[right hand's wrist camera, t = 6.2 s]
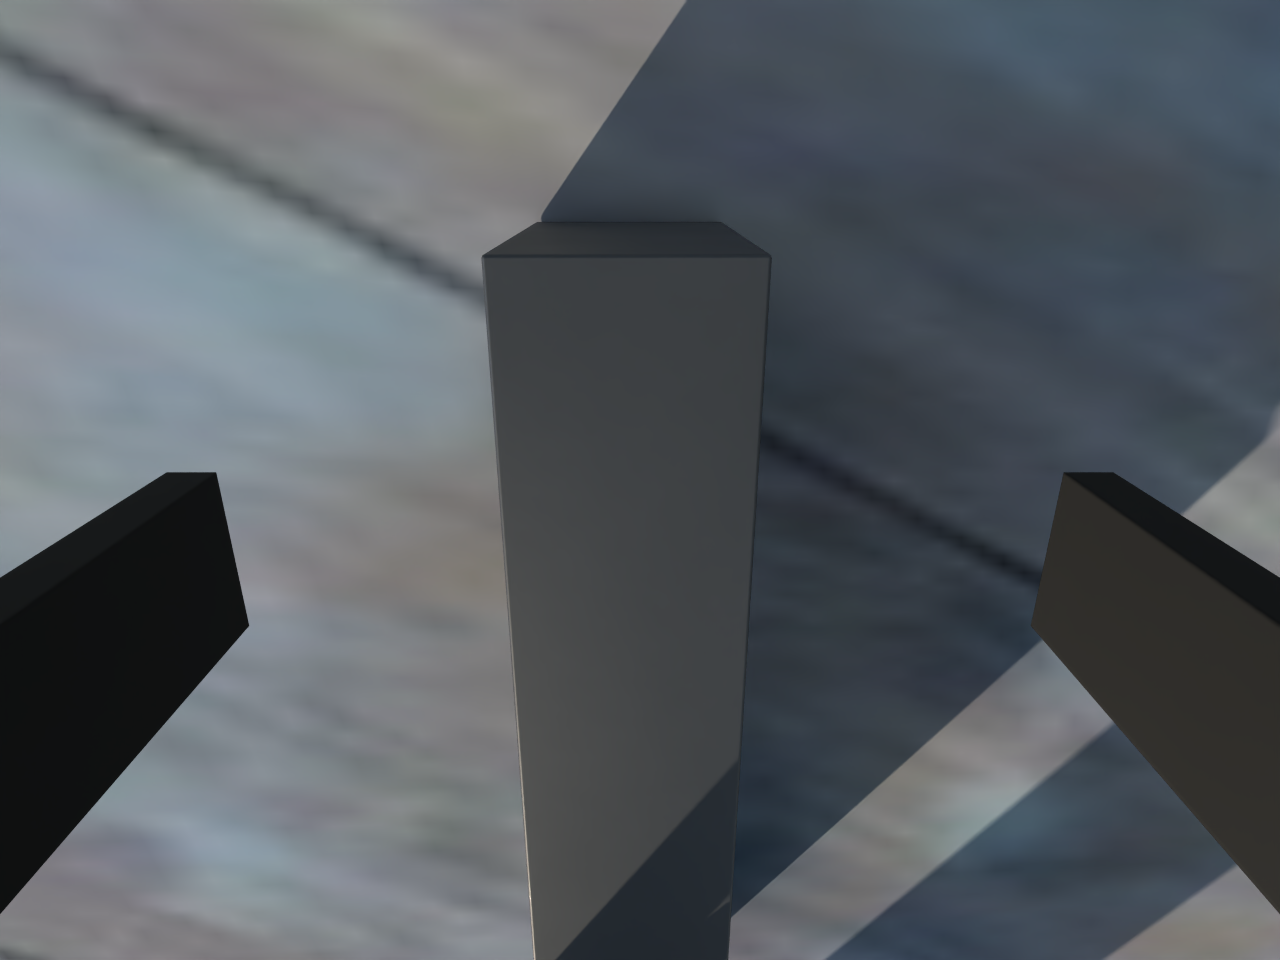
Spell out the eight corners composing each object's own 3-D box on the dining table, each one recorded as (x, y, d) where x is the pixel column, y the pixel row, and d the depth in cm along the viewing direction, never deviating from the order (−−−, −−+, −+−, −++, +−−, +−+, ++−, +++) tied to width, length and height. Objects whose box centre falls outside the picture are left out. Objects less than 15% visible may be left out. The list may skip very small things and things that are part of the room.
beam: (535, 221, 21) (480, 254, 13) (722, 221, 21) (772, 254, 13) (570, 953, 31) (551, 1198, 24) (694, 952, 31) (713, 1196, 24)
